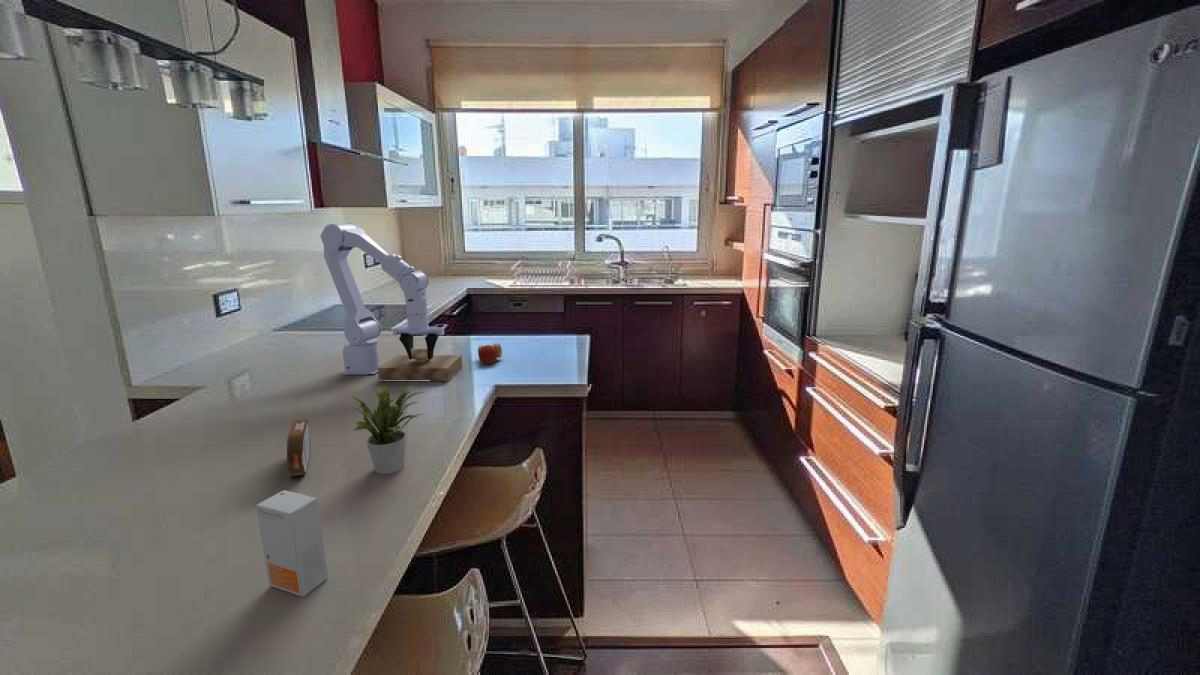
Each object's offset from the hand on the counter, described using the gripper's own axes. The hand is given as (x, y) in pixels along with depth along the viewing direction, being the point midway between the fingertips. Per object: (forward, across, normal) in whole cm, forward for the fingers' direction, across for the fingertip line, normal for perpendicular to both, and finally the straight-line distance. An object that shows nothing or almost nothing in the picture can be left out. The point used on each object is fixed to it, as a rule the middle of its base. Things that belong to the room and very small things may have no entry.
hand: (421, 358), depth 161 cm
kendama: (+5, +16, +18) cm, 25 cm away
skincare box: (+5, +17, -92) cm, 94 cm away
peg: (+3, 0, 0) cm, 3 cm away
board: (+5, 0, 0) cm, 5 cm away
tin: (+5, -2, -59) cm, 59 cm away
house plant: (+5, +17, -60) cm, 62 cm away
